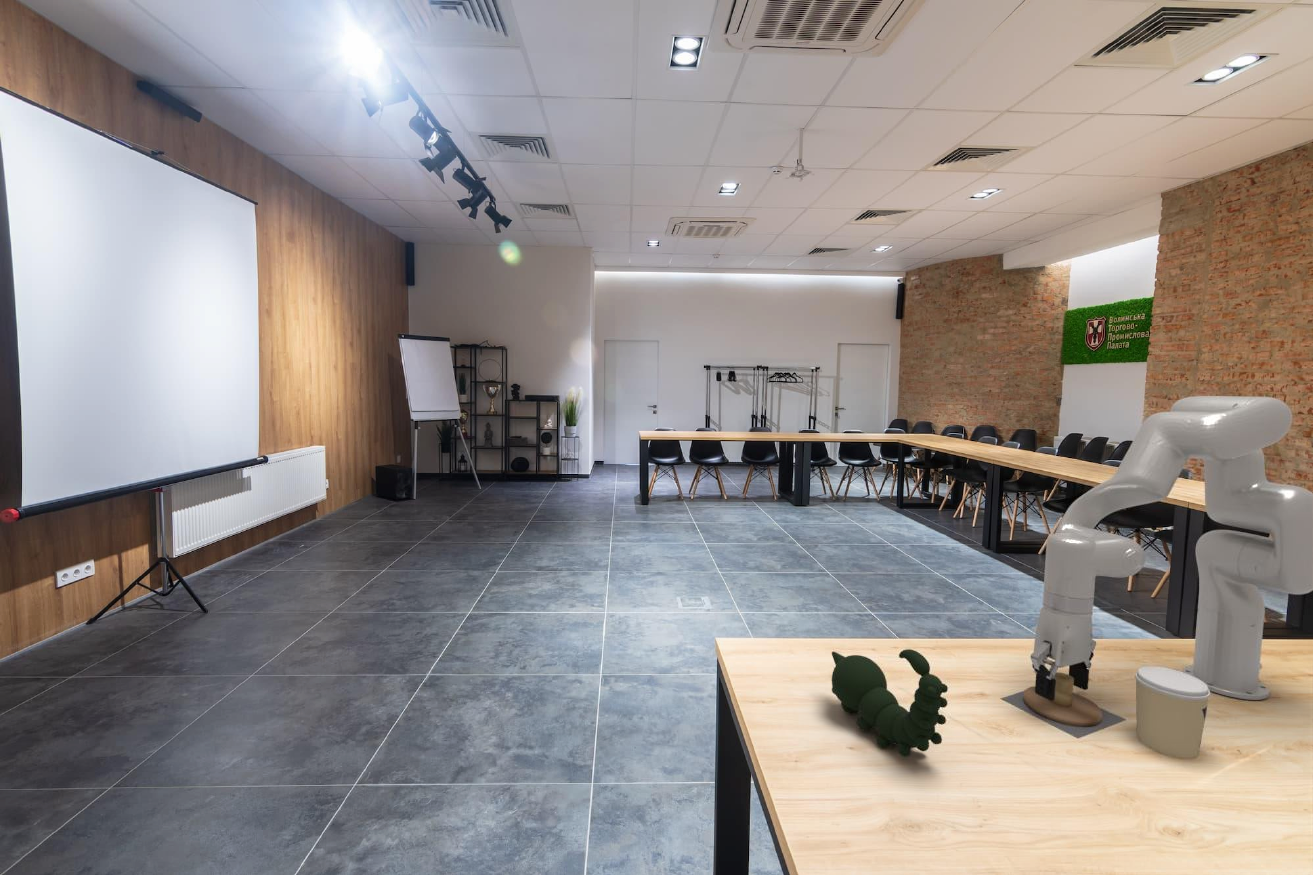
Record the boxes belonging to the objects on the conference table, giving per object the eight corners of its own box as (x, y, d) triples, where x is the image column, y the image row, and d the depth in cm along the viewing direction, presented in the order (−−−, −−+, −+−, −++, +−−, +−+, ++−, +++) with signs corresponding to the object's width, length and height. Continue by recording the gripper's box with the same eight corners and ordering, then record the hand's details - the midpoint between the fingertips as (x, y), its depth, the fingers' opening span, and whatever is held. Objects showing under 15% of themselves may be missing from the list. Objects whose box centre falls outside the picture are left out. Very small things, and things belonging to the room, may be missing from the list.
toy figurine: (951, 773, 93) (848, 686, 116) (966, 665, 90) (856, 597, 113) (906, 788, 90) (808, 695, 113) (919, 675, 87) (816, 603, 110)
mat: (1046, 686, 117) (1047, 683, 117) (1126, 722, 105) (1126, 719, 105) (1000, 701, 112) (1000, 698, 112) (1077, 741, 99) (1077, 738, 99)
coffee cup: (1220, 768, 92) (1226, 695, 91) (1152, 761, 94) (1157, 689, 93) (1180, 734, 101) (1185, 668, 100) (1118, 728, 103) (1123, 662, 102)
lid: (1048, 687, 116) (1050, 657, 116) (1116, 717, 105) (1118, 684, 105) (1008, 699, 111) (1010, 668, 111) (1075, 733, 100) (1078, 698, 100)
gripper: (1075, 589, 113) (1069, 673, 115) (1016, 601, 106) (1010, 691, 108) (1118, 602, 107) (1111, 692, 108) (1058, 616, 100) (1052, 711, 101)
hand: (1061, 691), depth 108 cm, fingers open, 9 cm apart
